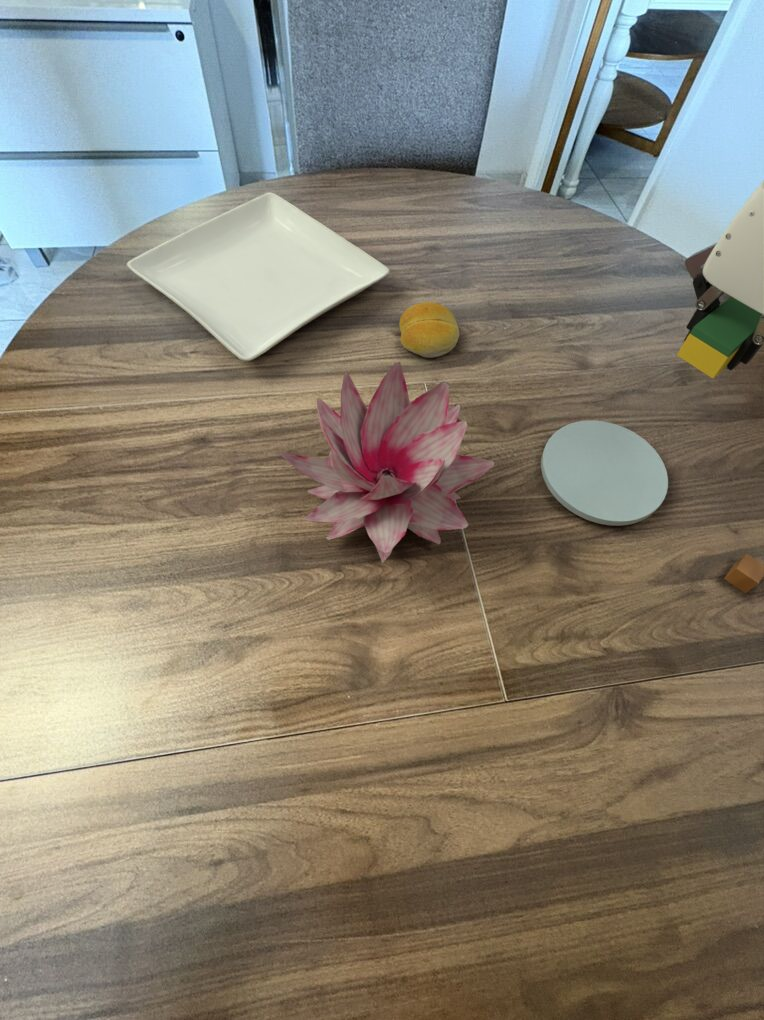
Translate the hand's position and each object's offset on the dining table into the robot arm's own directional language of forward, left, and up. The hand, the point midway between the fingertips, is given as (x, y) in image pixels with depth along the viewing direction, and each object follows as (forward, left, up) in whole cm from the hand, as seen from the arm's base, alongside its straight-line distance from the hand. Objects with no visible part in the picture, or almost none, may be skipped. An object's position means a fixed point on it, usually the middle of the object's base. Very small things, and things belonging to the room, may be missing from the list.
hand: (714, 348), depth 66 cm
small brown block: (+10, +17, -14) cm, 24 cm away
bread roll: (+10, -32, -15) cm, 37 cm away
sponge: (0, 0, 0) cm, 0 cm away
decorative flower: (+33, -15, -15) cm, 40 cm away
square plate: (+22, -55, -15) cm, 61 cm away
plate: (+10, -1, -15) cm, 18 cm away
